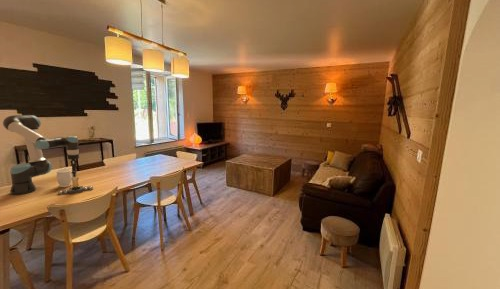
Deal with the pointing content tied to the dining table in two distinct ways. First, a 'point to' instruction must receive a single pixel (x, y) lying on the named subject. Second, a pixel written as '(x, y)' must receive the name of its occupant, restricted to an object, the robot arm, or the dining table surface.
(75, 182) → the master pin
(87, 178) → the dining table surface
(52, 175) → the dining table surface
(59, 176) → the jar
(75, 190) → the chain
